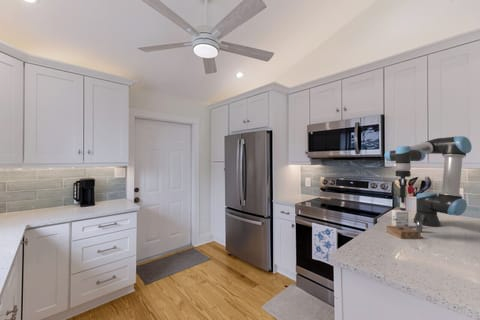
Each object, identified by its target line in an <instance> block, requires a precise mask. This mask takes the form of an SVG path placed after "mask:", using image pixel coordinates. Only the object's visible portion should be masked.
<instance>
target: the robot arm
mask: <svg viewBox="0 0 480 320" xmlns="http://www.w3.org/2000/svg"><path fill="white" fill-rule="evenodd" d="M471 151H472V142H471V141H470V139H469V138H468V137H466V136H462V135H461V136H456V135H455V136H449V137H448V136H447V137H439V138H433V139H429V140H427V141H423V142H420V143H419V144H416V145H412V146H410V145H401V146H400V145H399V146H396V147H395V149H394V150H387V151H386V152H384V159H385V160H386V161H387V162H395V164H394V167H395V177H400V179H399V178H398V184H399V196H398V197H399V209H400V208H405V188H407V183H408V179H406V178H409V177H411V176H412V175H411V172H412V171H411V169H412V168H411V167H412V166H411V165H412V164H411V162H422V161H423V160H425V158H426V155H431V154H433V155H434V154H435V155H436V154H437V155H438V154H439V155H440V154H441V156H442V157H443V158H444V162H443V175H442V184H441V185H442V186H441V191H439V192H438V194H437V193H435V192H422V193H421V192H419V193H417V194H416V198H415V199H416V207H415V208H416V212H415V215H414V218H413V223H415V224H416V221H422V226H425V227H441V222H440V219H439V216H438V213H441V214H446V215H449V216H461V215H463V214H464V213H465V211H466V209H467V207H468V204H467V200H465V199H464V198H463V195H462V194H461V193H460V191H461V189H460V188H461V179H462V178H461V176H462V167H463V159H465V158H466V156H467V154H469V153H470V152H471ZM407 197H408V196H407V194H406V198H407Z"/></svg>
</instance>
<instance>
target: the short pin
mask: <svg viewBox="0 0 480 320" xmlns="http://www.w3.org/2000/svg"><path fill="white" fill-rule="evenodd" d="M415 224H416V226H415V227H416V228H415V230H416V231H419V232H420V234H421V233H423V225H422V221H416V223H415Z"/></svg>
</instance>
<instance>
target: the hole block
mask: <svg viewBox="0 0 480 320" xmlns="http://www.w3.org/2000/svg"><path fill="white" fill-rule="evenodd" d="M386 233H388V234H390V235H392V236H395V237H396V238H399V239H402V240H405V239H406V240H407V239H410V240H416V239H417V240H419V239H418V238H420V239H421V233H420V232H419V231H416V229H414V228H411V227H409V226H408V227H406V226H392V225H386Z"/></svg>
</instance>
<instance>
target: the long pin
mask: <svg viewBox="0 0 480 320" xmlns="http://www.w3.org/2000/svg"><path fill="white" fill-rule="evenodd" d="M406 195H407V187H405V208H400V207H399V210H401V211H407V201H406V200H407V197H406Z"/></svg>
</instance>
